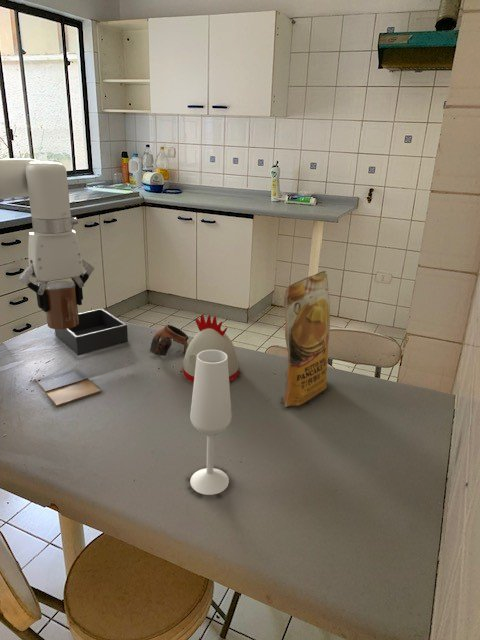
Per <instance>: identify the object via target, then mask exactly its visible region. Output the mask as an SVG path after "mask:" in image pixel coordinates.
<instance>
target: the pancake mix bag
mask: <svg viewBox="0 0 480 640" xmlns="http://www.w3.org/2000/svg"><path fill="white" fill-rule="evenodd" d="M330 303H331V302H330V293H329V281H328V273H326V270H322V271H319V272H317V273H315V274H313V275H310V276H307V277H304V278H302V279H300V280H297V281H296V282H293V283H292V284H290V285H289V286H288V287H287V288H286V289H285V292H284V299H283V308H284V309H283V310H284V317H285V318H284V319H285V326H284V338H285V345H286V349H287V367H286V376H285V377H286V378H285V387H284V393H283V399H282V402H283V406H284V408H287V407H299V406H302V405H304V404H305V403H307V402H309V401H310V400H312V399H313V398H315V397H316V396H317V395H319V394H321V393H323V392H324V391H326V389H327V388H328V379H327V378H328V377H327V375H328V374H327V373H328V372H327V371H328V361H329V345H330V333H331V332H330V330H331V305H330Z"/></svg>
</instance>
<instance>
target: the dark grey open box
mask: <svg viewBox="0 0 480 640" xmlns="http://www.w3.org/2000/svg"><path fill="white" fill-rule="evenodd" d="M78 317H79V324H78V325H77V326H75V327H73V328H69V329H62V330H57V329H54V335H55V337H57V338H58V339H59V341H61V342H62V343H63V344H64V345H66V347H68V348H69V349H70V350H71V351H72V352H73V353H75V354H76V355H77V356H80V355H85V354H87V353H88V354H89V353H92V352H95V351H99V350H102V349H105V348H109V347H110V348H111V347H114V346H117V345H120V344H126V343H128V342H129V335H128V334H129V333H128V325H127V323H125V322H124V321H122V320H120V319H119V318H117V317H116V316H114V315H113V314H112V313H110V312H108V311H107V310H106V309H103V308H98V309H94V310H89V311H84V312H78Z"/></svg>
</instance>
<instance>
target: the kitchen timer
mask: <svg viewBox="0 0 480 640" xmlns="http://www.w3.org/2000/svg"><path fill="white" fill-rule="evenodd" d="M211 318H212V317H211V315H210V314H208V316H207V319H206V320H205V316H204V314H201V315H200V320H199V318H198V317H196V318H195V319H194V321H195V323H196V327H197V328H198V332H197V333H196V334H195V335H194V336H193V337H192V338H191V339H190V340H189V344H188V345H187V350H186V352H185V353H184V358H183V362H182V374H183V376H184V377H185V379H186V380H187V381H189V382H191V383H194V377H195V368H196V359H197V354H198V353H200V352H202V351H205V350H219V351H222V352H224V353H226V354H227V357H228V372H229V383H231V382H232V381H234V380H236V378H237V377H238V376H239V372H240V371H239V368H240V365H239V364H240V363H239V358H238V355H237V351H236V348H235V347H234V344H233V342H232V340H231V339H230V337H229V336H228V335H227V334H226V332H227V330H228V326H226V327H225V328H224V329H223V330H222V324H223V321H222V320H221V321H220V322H219V323H218V321H217V316H216V315H215V316H213V318H212V319H211Z"/></svg>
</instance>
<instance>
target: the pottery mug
mask: <svg viewBox="0 0 480 640" xmlns="http://www.w3.org/2000/svg"><path fill="white" fill-rule="evenodd" d="M188 340H189V336H188V335H187V333H185V332H184V331H183V330H181V329H180V328H178V327H176V326H174V325H171V324H165V325H164V327H163V328H161V329H159V330H157V331H156V332H155V334H154V336H153V337H152V340H151V343H150V347H149V352H150V353H152V354H153V355H159V356H161V357H166V356H167V354H168V351H169V350H170V348H171V347H172V343H173V342H175V343H178V344H181V345H183V350H182V353H183V354H186V351H187V349H188Z"/></svg>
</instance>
